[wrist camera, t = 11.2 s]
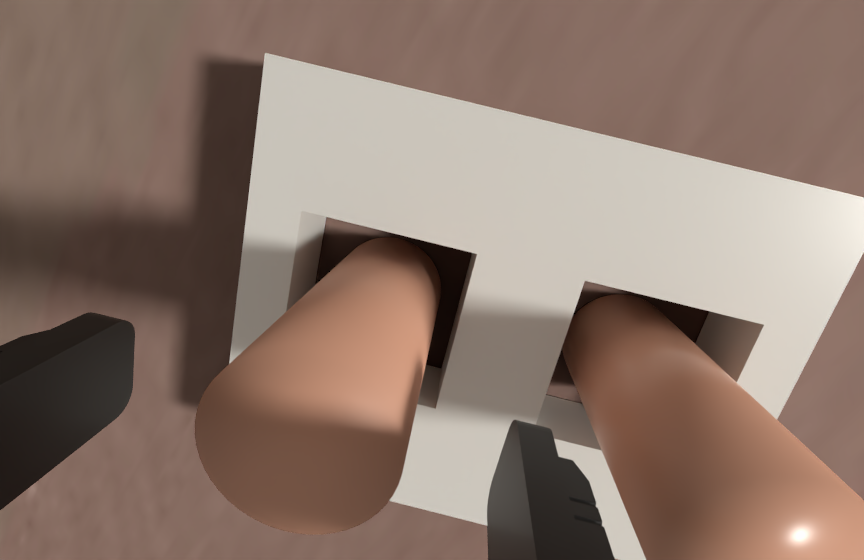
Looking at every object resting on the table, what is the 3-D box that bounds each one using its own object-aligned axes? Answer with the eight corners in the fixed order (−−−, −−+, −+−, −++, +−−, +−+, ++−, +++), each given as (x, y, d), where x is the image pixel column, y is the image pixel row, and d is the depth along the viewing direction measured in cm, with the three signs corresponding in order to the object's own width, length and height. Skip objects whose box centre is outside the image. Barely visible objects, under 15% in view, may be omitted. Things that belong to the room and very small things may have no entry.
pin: (348, 226, 18) (204, 325, 8) (451, 251, 18) (425, 380, 8) (331, 322, 19) (187, 505, 10) (428, 346, 19) (381, 555, 10)
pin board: (301, 67, 16) (62, -31, 7) (815, 192, 16) (1305, 268, 7) (253, 412, 21) (62, 650, 11) (663, 516, 20) (831, 852, 11)
